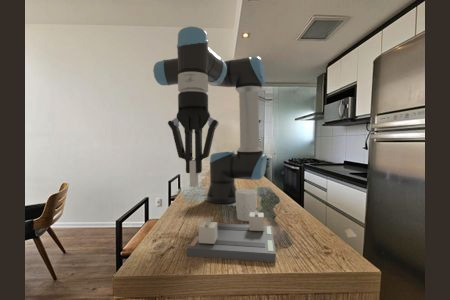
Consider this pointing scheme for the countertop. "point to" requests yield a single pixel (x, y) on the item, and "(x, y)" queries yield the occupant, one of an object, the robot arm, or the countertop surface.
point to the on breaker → (256, 221)
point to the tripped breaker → (208, 232)
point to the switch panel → (236, 244)
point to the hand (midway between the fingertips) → (194, 185)
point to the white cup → (245, 203)
